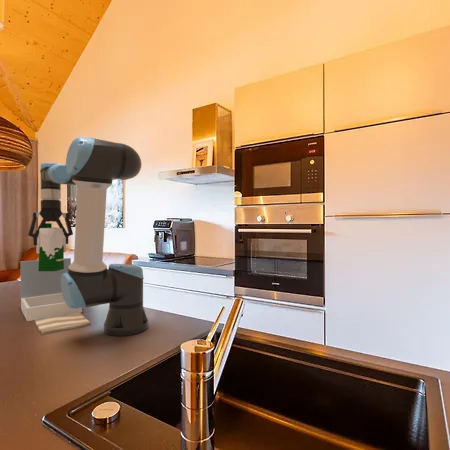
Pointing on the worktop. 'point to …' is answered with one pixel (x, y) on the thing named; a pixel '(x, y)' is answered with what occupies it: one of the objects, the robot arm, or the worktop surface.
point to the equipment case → (43, 292)
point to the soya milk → (51, 248)
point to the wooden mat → (61, 323)
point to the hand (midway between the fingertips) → (51, 252)
